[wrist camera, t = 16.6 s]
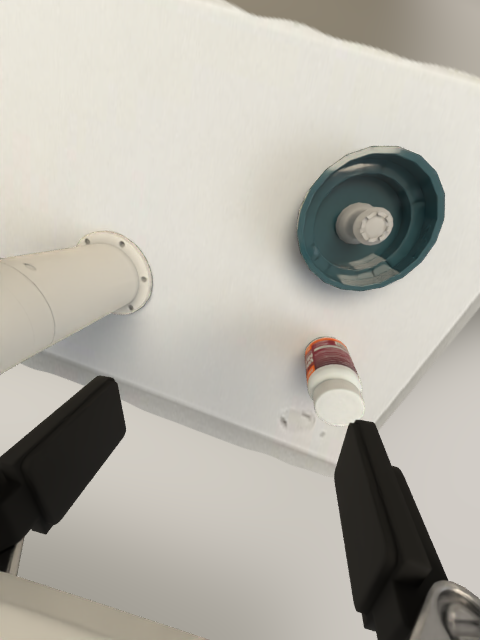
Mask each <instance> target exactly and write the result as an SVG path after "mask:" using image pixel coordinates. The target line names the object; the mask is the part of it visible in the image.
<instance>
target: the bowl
mask: <svg viewBox="0 0 480 640" xmlns="http://www.w3.org/2000/svg"><path fill="white" fill-rule="evenodd" d="M358 202H360V203H367V204H370V205H371V206H373V207H381V208H384V209H386V210H387V211H389V212H390V214H391V216H392V218H393V227H392V230H391V233H390V234H389V235H388V237H387V238H386V239H385V240H383V241H382V242H380V243H379V244H375V245H364V244H362V243H360V244H350V243H346V242H344V241H343V240H341V239H340V238H339V236H338V234H337V232H336V222H337V218H338V216H339V215H340V213H341V212H342V210H343V209H345V208H346V207H348V206H349V205H351V204H354V203H358ZM444 213H445V193H444V190H443V188H442V185H441V182H440V180H439V177H438V174H437V172H436V171H435V170H434V169H433V168H432V167H431V166H430V165H429V164H428V163H427V162H426V160H425V159H424V158H423V157H422V156H420V155H419V154H416V153H414V152H411V151H409V150H406V149H404V148H401V147H399V146H371V147H368V148H365V149H362V150H359V151H356V152H353V153H350V154H348V155H346V156H344V157H343V158H342V159H340V160H339V161H337V162H336V163H334V164H333V165H332V166H330V167H329V168H327V169H326V170H325V171H324V172H323V174H322V175H321V176H320V177H319V178H318V180H317V181H316V182H315V183H314V185H313V186H312V187H311V188H310V189H309V191H308V192H307V194H306V196H305V198H304V201H303V203H302V205H301V208H300V210H299V213H298V221H297V229H296V230H297V237H298V242H299V248H300V252H301V255H302V256H303V258H304V260H305V262H306V264H307V265H308V267H309V269H310V270H311V271H312V272H313V273H314V274H315V275H316V276H318V277H319V278H320V279H321V280H322V281H323V282H325V283H327V284H330V285H332V286H334V287H337V288H339V289H343V290H354V291H365V290H370V289H376V288H381V287H384V286H386V285H388V284H390V283H392V282H395V281H397V280H399V279H401V278H403V277H404V276H405V275H407V274H408V273H409V272H410V271H411V270H413V269H414V268H415V267H416V266H417V265H419V264H420V263H421V262H422V261H423V259H424V258H425V257H426V255H427V254H428V252H429V251H430V250H431V248H432V247H433V245H434V244H435V243H436V241H437V238H438V235H439V232H440V229H441V227H442V224H443V221H444Z"/></svg>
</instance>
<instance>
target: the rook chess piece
mask: <svg viewBox="0 0 480 640" xmlns="http://www.w3.org/2000/svg"><path fill="white" fill-rule="evenodd" d="M392 227H393V218H392V216H391V214H390V212H389V211H387V210H386V209H384V208H381V207H373V206H371V205H370V204H367V203H360V202H358V203H354V204H351V205H349V206H348V207H346V208H345V209H343V210H342V212H341V213H340V215H339V216H338V218H337V222H336V232H337V234H338V236H339V238H340V239H341V240H343V241H344V242H346V243H350V244H360V243H362V244H364V245H375V244H379V243H380V242H382V241H383V240H385V239H386V238H387V237H388V235H389V234H390V233H391V230H392Z"/></svg>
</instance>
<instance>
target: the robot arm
mask: <svg viewBox="0 0 480 640" xmlns="http://www.w3.org/2000/svg"><path fill="white" fill-rule="evenodd" d="M151 289H152V275H151V271H150V268H149V265H148V263H147V260H146V259H145V257H144V255H143V254H142V252H141V251H140V250H139V249H138V247H137V246H136V245H135V244H133V243H132V242H131V241H130V240H129V239H127V238H125V237H124V236H122V235H120V234H117V233H114V232H109V231H99V232H93V233H90V234H88V235H86V236H84V237H83V238H82V239H81V240H80V241H79V243H78V244H77V245H76V247H72V248H65V249H59V250H53V251H46V252H40V253H33V254H27V255H20V256H14V257H7V258H1V259H0V375H1V374H2V373H4V372H6V371H7V370H9V369H11V368H12V367H14V366H16V365H18V364H19V363H21V362H23V361H25V360H26V359H28V358H30V357H32V356H34V355H35V354H37V353H39V352H41V351H43V350H45V349H46V348H48V347H50V346H52V345H54V344H56V343H58V342H59V341H61V340H63V339H65V338H67V337H68V336H70V335H72V334H74V333H76V332H77V331H79V330H81V329H83V328H85V327H86V326H88V325H90V324H92V323H94V322H96V321H97V320H99V319H101V318H103V317H105V316H106V315H108V314H110V313H112V314H117V315H125V314H130V313H133V312H135V311H137V310H138V309H140V308H141V307H142V306H143V305H144V304H145V303H146V302H147V300H148V299H149V296H150V294H151ZM125 432H126V426H125V420H124V415H123V410H122V405H121V399H120V394H119V389H118V384H117V382H115V380H114V379H113V378H111V377H105V376H97V377H95V378H94V379H93V380H92V381H91V382H89V383H88V384H87V385H86V386H85V387H83V388H82V389H81V390H80V391H79V392H77V393H76V394H75V395H74V396H73V397H72V398H70V399H69V400H68V401H67V402H66V403H64V404H63V405H62V406H61V407H60V408H58V409H57V410H56V411H55V412H54V413H52V414H51V415H50V416H49V417H47V418H46V419H45V420H44V421H43V422H41V423H40V424H39V425H38V426H37V427H35V428H34V429H33V430H32V431H31V432H30V433H29V434H27V435H26V436H25V437H24V438H22V439H21V440H20V441H19V442H18V443H16V444H15V445H14V446H13V447H12V448H10V449H9V450H8V451H7V452H6V453H4V454H3V455H2V456H1V457H0V640H208V639H205V638H202V637H199V636H196V635H193V634H190V633H187V632H185V631H182V630H178V629H175V628H173V627H169V626H167V625H164V624H160V623H157V622H155V621H151V620H149V619H145V618H142V617H139V616H136V615H133V614H130V613H127V612H124V611H121V610H118V609H115V608H112V607H109V606H106V605H103V604H100V603H97V602H94V601H91V600H88V599H85V598H82V597H79V596H76V595H73V594H70V593H67V592H64V591H60V590H57V589H54V588H51V587H48V586H45V585H42V584H39V583H36V582H33V581H30V580H26V579H24V578H21V577H17V573H18V568H19V562H20V557H21V552H22V546H23V541H24V536H25V535H26V534H27V533H28V532H29V530H30V529H32V531H36V532H39V533H43V534H47V533H48V531H49V530H50V529H51V527H52V526H53V525H55V524H57V523H58V522H59V521H60V520H61V519H62V518H63V517H64V515H65V514H66V513H67V511H68V510H69V509H70V507H71V506H72V505H73V503H74V502H75V501H76V499H77V498H78V497H79V495H80V494H81V493H82V491H83V490H84V489H85V487H86V486H87V485H88V483H89V482H90V481H91V480H92V478H93V477H94V476H95V474H96V473H97V471H98V470H99V469H100V467H101V466H102V465H103V463H104V462H105V461H106V460H107V458H108V457H109V456H110V454H111V453H112V452H113V450H114V449H115V447H116V446H117V445H118V444H119V442H120V441H121V440H122V438H123V437H124V435H125ZM334 479H335V487H336V494H337V500H338V506H339V513H340V519H341V525H342V531H343V538H344V543H345V551H346V557H347V563H348V569H349V576H350V582H351V588H352V595H353V601H354V605H355V609H356V611H357V612H360V613H362V617H363V623H364V628H365V629H369V630H372V631H376V633H377V638H378V640H480V599H479V598H478V597H477V596H475V595H474V594H473V593H471V592H470V591H469V590H467V589H466V588H464V587H463V586H460V585H458V584H456V583H454V582H451V581H448V579H447V576H446V574H445V572H444V569H443V567H442V564H441V562H440V560H439V557H438V555H437V553H436V550H435V548H434V546H433V543H432V541H431V539H430V536H429V534H428V532H427V529H426V527H425V525H424V522H423V520H422V517H421V515H420V513H419V510H418V508H417V506H416V503H415V501H414V499H413V496H412V494H411V492H410V489H409V487H408V485H407V482H406V480H405V478H404V476H403V474H402V472H401V470H400V469H399V468H397V467H394V466H391V463H390V461H389V458H388V456H387V453H386V451H385V448H384V445H383V443H382V440H381V438H380V435H379V433H378V430H377V428H376V425H375V423H373V422H369V421H363V420H355V422H354V423H349V426H348V429H347V432H346V436H345V439H344V442H343V446H342V449H341V452H340V456H339V459H338V462H337V466H336V469H335V474H334Z"/></svg>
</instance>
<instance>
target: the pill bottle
mask: <svg viewBox="0 0 480 640" xmlns="http://www.w3.org/2000/svg"><path fill="white" fill-rule="evenodd" d="M305 367H306V377H307V388H308V393H309V395H310V397H311V399H312V400H313V402H314V408H315V412H316V414H317V416H318V417H319V418H320V419H321V420H322V421H324V422H325V423H327V424H330V425H333V426H348V425H349V423H354V422H355V420H360V419H361V417H362V416H363V414H364V411H365V404H364V401H363V398H362V395H361V392H362V384H361V381H360V378H359V376H358V374H357V371H356V369H355V367H354V364H353V362H352V359H351V357H350V354H349V352H348V349H347V348H346V346H345V345H344V344H343V343H342V342H341V341H340V340H338V339H335V338H332V337H321V338H318V339H316V340H314V341H312V342H311V343H310V344H309V345H308V346H307V348H306V351H305Z"/></svg>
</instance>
